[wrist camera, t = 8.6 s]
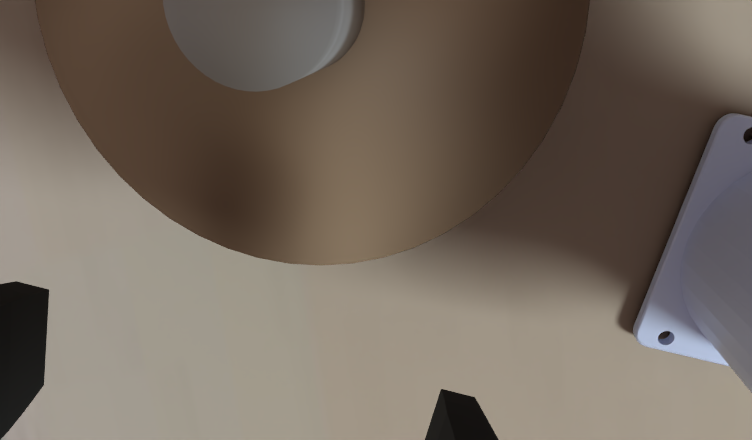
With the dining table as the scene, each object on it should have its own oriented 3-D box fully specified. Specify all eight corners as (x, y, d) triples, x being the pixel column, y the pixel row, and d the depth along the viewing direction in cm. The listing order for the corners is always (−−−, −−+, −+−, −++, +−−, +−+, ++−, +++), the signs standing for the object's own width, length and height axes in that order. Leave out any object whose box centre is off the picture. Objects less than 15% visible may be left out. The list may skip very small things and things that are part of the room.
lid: (670, -251, 12) (803, -404, 8) (493, 302, 17) (512, 409, 12) (62, -386, 13) (-147, -608, 8) (43, 191, 17) (-101, 255, 12)
